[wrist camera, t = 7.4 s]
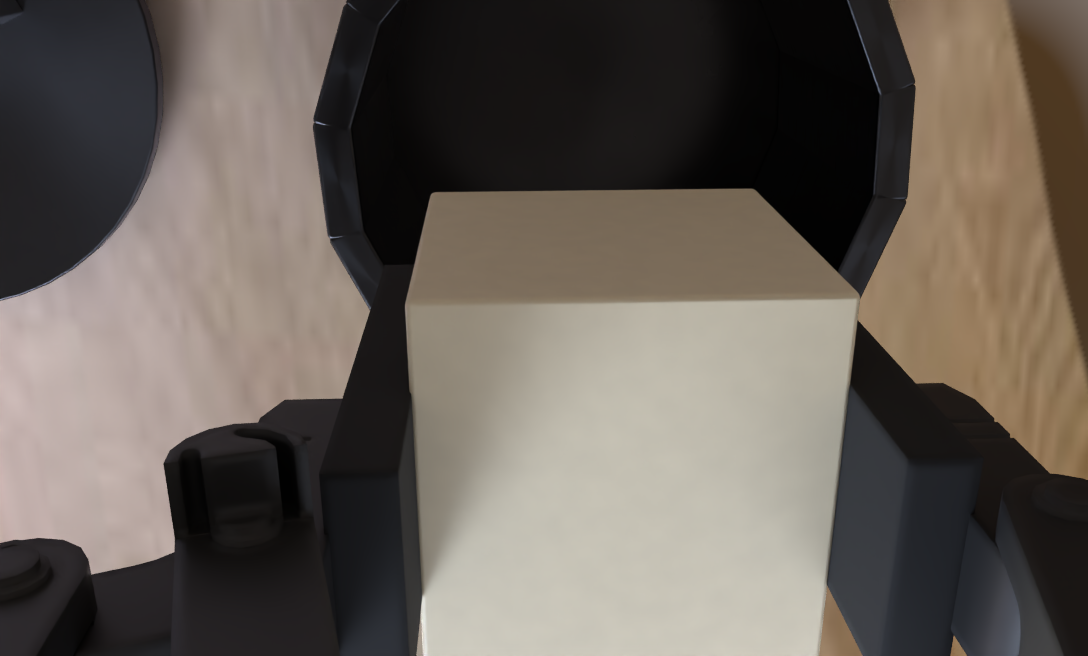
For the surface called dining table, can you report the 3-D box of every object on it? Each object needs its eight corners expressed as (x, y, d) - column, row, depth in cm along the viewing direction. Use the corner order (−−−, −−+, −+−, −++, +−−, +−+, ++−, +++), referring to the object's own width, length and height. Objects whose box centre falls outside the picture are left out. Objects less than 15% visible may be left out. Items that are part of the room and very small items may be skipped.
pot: (278, -8, 28) (198, 19, 20) (701, -230, 27) (791, -292, 19) (486, 369, 33) (487, 512, 25) (860, 196, 31) (986, 288, 23)
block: (441, 480, 18) (424, 678, 13) (429, 190, 16) (404, 300, 11) (734, 473, 18) (819, 666, 13) (755, 187, 16) (862, 293, 11)
